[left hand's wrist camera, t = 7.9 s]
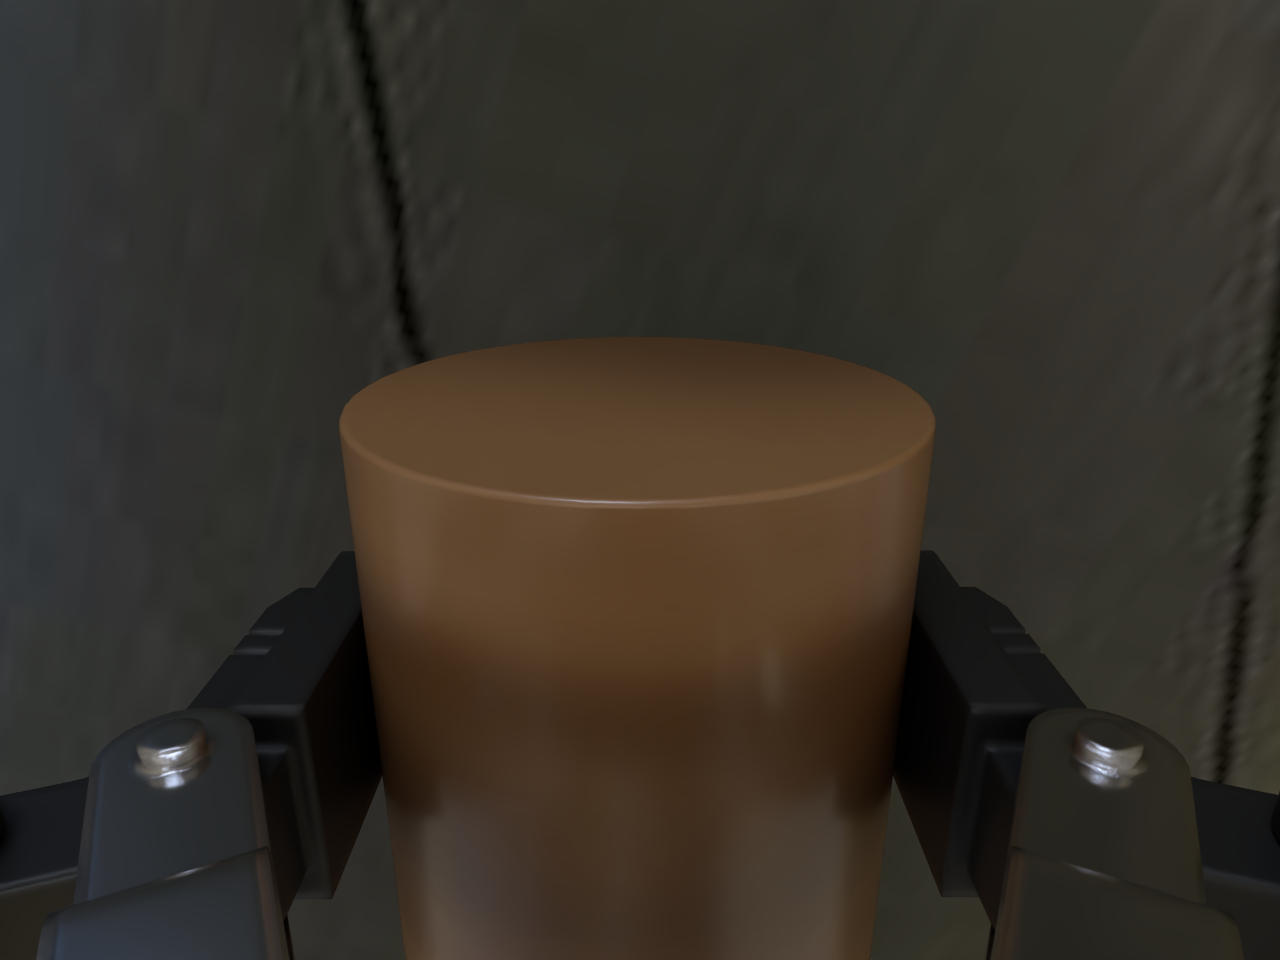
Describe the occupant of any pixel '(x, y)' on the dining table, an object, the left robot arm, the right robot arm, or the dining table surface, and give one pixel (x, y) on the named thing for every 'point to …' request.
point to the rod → (637, 643)
